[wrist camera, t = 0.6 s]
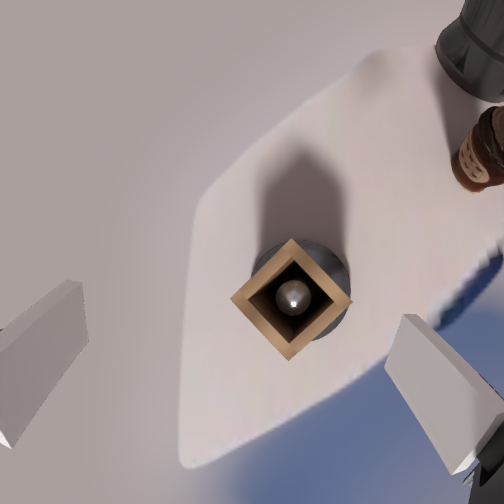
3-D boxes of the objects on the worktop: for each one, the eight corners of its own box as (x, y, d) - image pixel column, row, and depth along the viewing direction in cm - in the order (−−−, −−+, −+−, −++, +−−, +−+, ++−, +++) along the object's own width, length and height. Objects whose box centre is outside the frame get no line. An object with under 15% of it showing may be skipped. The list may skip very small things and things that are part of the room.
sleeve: (344, 292, 33) (353, 301, 24) (297, 336, 34) (288, 361, 25) (299, 247, 35) (291, 238, 25) (254, 291, 36) (229, 298, 26)
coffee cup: (452, 204, 32) (502, 177, 19) (435, 145, 33) (472, 98, 20) (499, 196, 30) (552, 171, 18) (482, 141, 31) (525, 100, 18)
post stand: (363, 262, 35) (377, 259, 26) (326, 353, 35) (327, 378, 26) (271, 227, 37) (256, 214, 29) (237, 317, 38) (213, 331, 29)
